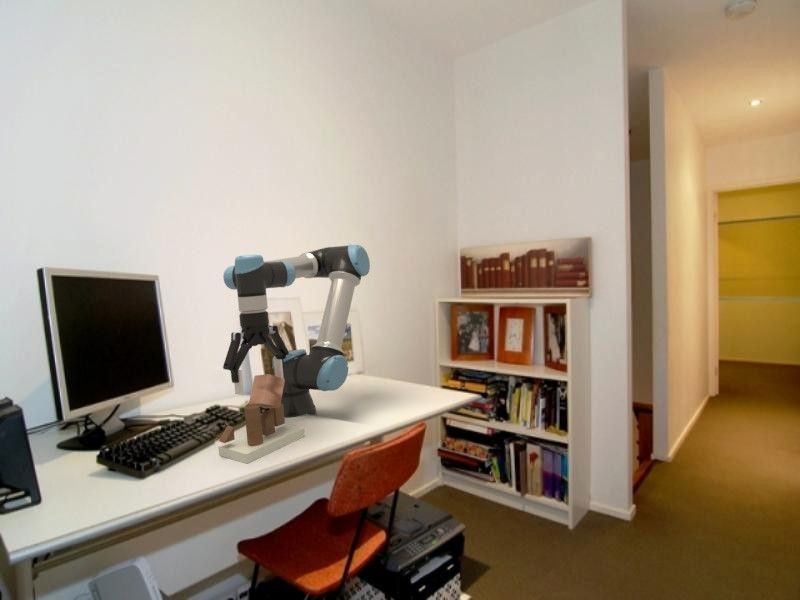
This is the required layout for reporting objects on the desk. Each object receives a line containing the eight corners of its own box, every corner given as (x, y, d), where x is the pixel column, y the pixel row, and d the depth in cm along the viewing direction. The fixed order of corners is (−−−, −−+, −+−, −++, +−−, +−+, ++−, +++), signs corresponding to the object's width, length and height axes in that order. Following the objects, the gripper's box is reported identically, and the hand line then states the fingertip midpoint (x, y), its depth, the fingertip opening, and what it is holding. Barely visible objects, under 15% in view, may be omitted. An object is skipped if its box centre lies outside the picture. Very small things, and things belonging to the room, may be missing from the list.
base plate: (277, 430, 136) (276, 422, 135) (304, 436, 129) (303, 427, 129) (219, 455, 119) (218, 446, 119) (247, 463, 112) (246, 454, 112)
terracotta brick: (265, 408, 126) (270, 380, 129) (279, 407, 123) (284, 379, 126) (248, 404, 122) (254, 375, 125) (263, 403, 118) (268, 374, 122)
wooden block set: (276, 426, 132) (272, 392, 131) (293, 431, 126) (290, 396, 126) (219, 447, 118) (215, 410, 117) (236, 454, 113) (232, 415, 112)
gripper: (279, 306, 133) (285, 375, 135) (203, 317, 113) (211, 398, 114) (297, 306, 129) (303, 377, 130) (221, 317, 108) (229, 401, 110)
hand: (260, 387), depth 122 cm, fingers open, 13 cm apart
